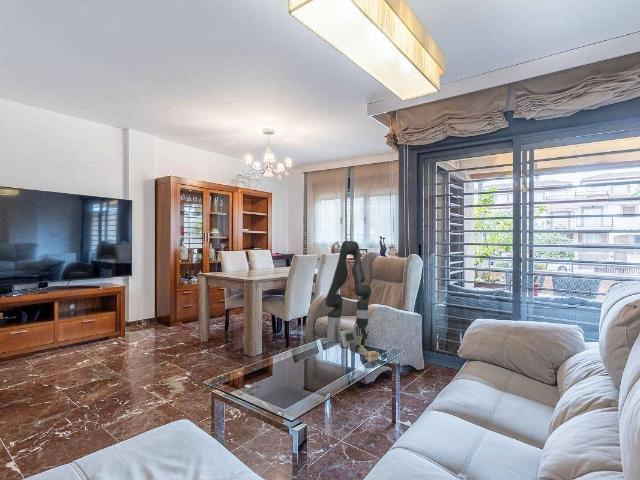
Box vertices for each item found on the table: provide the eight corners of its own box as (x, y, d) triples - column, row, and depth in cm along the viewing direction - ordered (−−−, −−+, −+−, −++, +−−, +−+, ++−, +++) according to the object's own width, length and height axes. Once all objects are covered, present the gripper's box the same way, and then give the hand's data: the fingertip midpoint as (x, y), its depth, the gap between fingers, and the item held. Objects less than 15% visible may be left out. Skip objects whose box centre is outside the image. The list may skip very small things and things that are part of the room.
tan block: (364, 358, 213) (365, 351, 213) (374, 358, 216) (375, 351, 216) (369, 361, 208) (369, 354, 209) (379, 360, 211) (379, 353, 211)
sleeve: (349, 349, 233) (349, 342, 233) (358, 349, 235) (358, 341, 235) (354, 352, 226) (354, 344, 226) (363, 352, 229) (363, 344, 229)
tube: (349, 347, 237) (349, 332, 237) (353, 347, 238) (354, 331, 238) (362, 355, 220) (362, 338, 220) (367, 354, 221) (367, 338, 221)
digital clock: (343, 349, 235) (344, 332, 235) (335, 345, 242) (335, 330, 243) (362, 346, 244) (362, 330, 245) (353, 343, 252) (354, 327, 252)
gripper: (351, 315, 231) (351, 342, 230) (362, 319, 218) (361, 347, 217) (362, 314, 233) (361, 341, 233) (373, 318, 221) (372, 347, 220)
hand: (361, 344), depth 225 cm, fingers closed on tube, 2 cm apart
